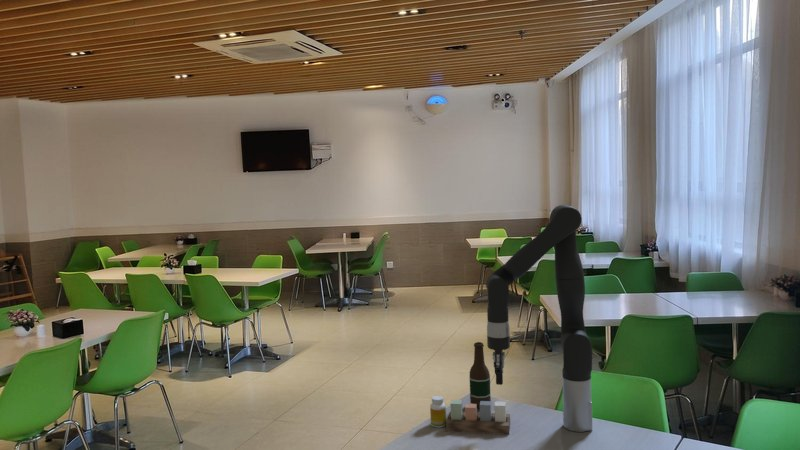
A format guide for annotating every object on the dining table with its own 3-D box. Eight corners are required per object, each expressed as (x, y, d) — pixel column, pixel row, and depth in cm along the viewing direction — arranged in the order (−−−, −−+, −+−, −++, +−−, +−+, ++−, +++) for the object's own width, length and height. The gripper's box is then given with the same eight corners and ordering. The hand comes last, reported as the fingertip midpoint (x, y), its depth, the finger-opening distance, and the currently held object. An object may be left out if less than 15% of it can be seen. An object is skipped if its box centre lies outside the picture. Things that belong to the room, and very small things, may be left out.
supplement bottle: (446, 427, 211) (445, 400, 210) (431, 428, 211) (430, 401, 210) (445, 421, 216) (444, 394, 215) (430, 421, 216) (429, 395, 215)
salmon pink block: (477, 420, 212) (476, 403, 212) (476, 424, 209) (475, 407, 208) (466, 420, 213) (466, 403, 213) (465, 424, 210) (465, 407, 209)
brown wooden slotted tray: (510, 422, 213) (510, 413, 213) (509, 434, 203) (508, 425, 203) (450, 419, 218) (450, 411, 217) (446, 431, 208) (446, 422, 208)
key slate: (491, 418, 211) (491, 401, 211) (490, 422, 208) (490, 405, 207) (481, 417, 212) (480, 400, 211) (480, 421, 208) (479, 404, 208)
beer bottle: (467, 408, 227) (465, 345, 225) (472, 400, 234) (470, 339, 232) (488, 410, 224) (486, 346, 222) (492, 402, 231) (491, 340, 229)
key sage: (462, 416, 213) (462, 400, 213) (461, 421, 210) (460, 404, 209) (452, 416, 214) (451, 399, 214) (451, 420, 211) (450, 403, 210)
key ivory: (506, 418, 210) (505, 401, 210) (505, 423, 207) (505, 405, 206) (495, 418, 211) (495, 401, 210) (494, 422, 207) (494, 405, 207)
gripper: (508, 339, 199) (509, 391, 200) (510, 329, 212) (511, 377, 213) (485, 339, 200) (486, 390, 202) (488, 328, 213) (489, 377, 215)
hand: (499, 383), depth 208 cm, fingers closed
